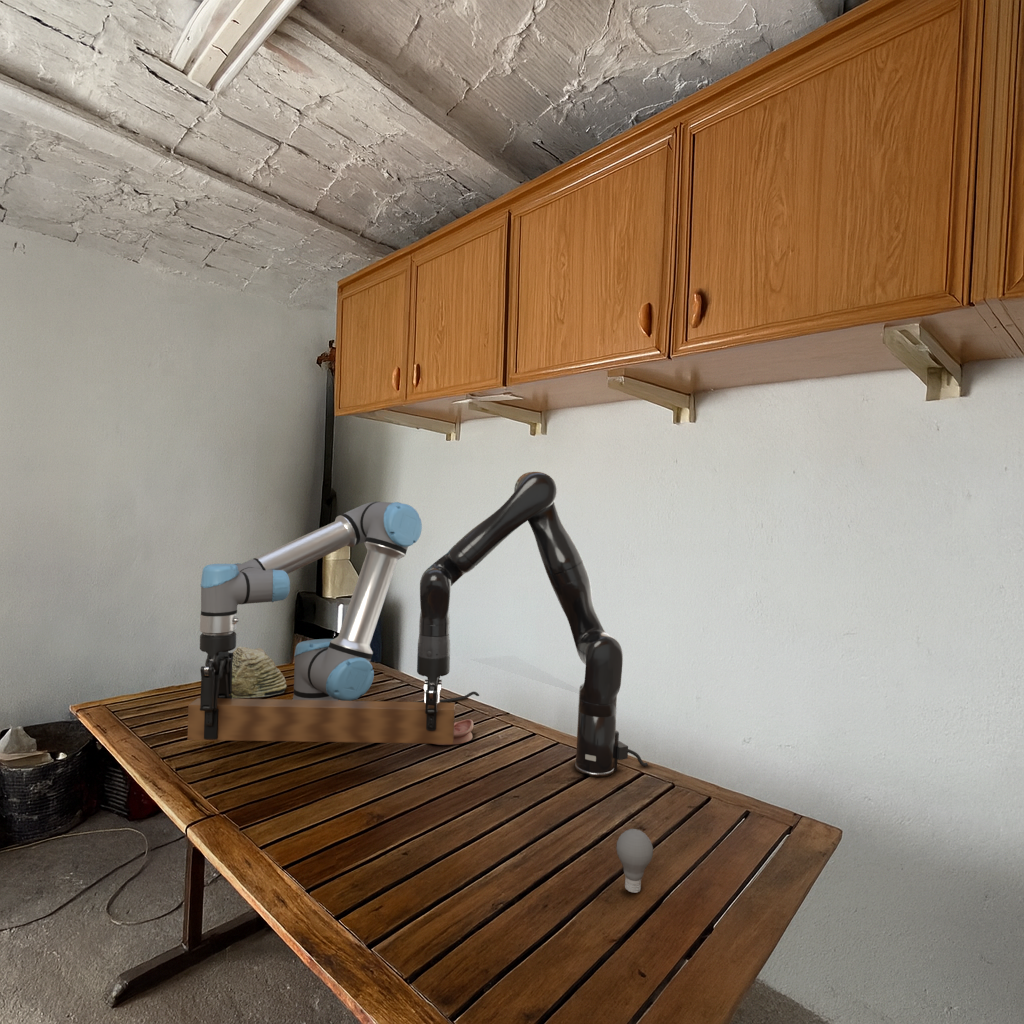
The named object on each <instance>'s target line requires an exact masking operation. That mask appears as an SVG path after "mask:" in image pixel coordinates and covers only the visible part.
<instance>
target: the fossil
mask: <svg viewBox="0 0 1024 1024" xmlns="http://www.w3.org/2000/svg"><path fill="white" fill-rule="evenodd" d="M232 653H233V661H232V693H231V694H230V695H229V696H232V699H253V698H264V697H271V696H275V695H281V694H284V693H285V691H286V689H287V687H288V686H287V680H286V678H285V676H284V674H283V673H282V672H281V669H279V668H278V667H277V665H276V663H275V662H274V660H273V659H272V658H271V657H270V656H269V655H268V654H267V653H266V652H265V650H264V649H263V648H260V647H258V648H251V647H247V646H246V647H245V646H238V647H237V648H235V649H234V650H233V651H232Z"/></svg>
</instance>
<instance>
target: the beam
mask: <svg viewBox="0 0 1024 1024" xmlns="http://www.w3.org/2000/svg"><path fill="white" fill-rule="evenodd" d="M200 701H201V697H197V698H196V699H194V700H193V701H192V702H190V703H189V704H188V705H187V706H188V707H187V708H188V709H187V740H188V741H237V742H238V741H243V742H244V741H245V742H246V741H247V742H300V743H301V742H304V743H313V742H314V743H367V744H368V743H370V744H371V743H377V744H379V743H380V744H382V743H383V744H432V743H433V744H432V745H436V744H453V740H454V723H455V719H456V717H455V714H456V709H455V708H456V702H442V703H441V702H439V703H438V704H437V710H438V712H437V714H436V730H434V731H428V730H427V729H426V718H427V714H426V713H425V710H426V703H425V702H415V701H386V700H385V701H384V700H383V701H381V700H380V701H377V700H353V701H341V700H339V701H336V700H292V699H281V698H280V699H277V698H275V699H273V698H232V699H231V698H218V700H217V709H218V738H217V739H204V716H205V711H200ZM428 709H434V705H429V708H428ZM453 745H454V744H453Z"/></svg>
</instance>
